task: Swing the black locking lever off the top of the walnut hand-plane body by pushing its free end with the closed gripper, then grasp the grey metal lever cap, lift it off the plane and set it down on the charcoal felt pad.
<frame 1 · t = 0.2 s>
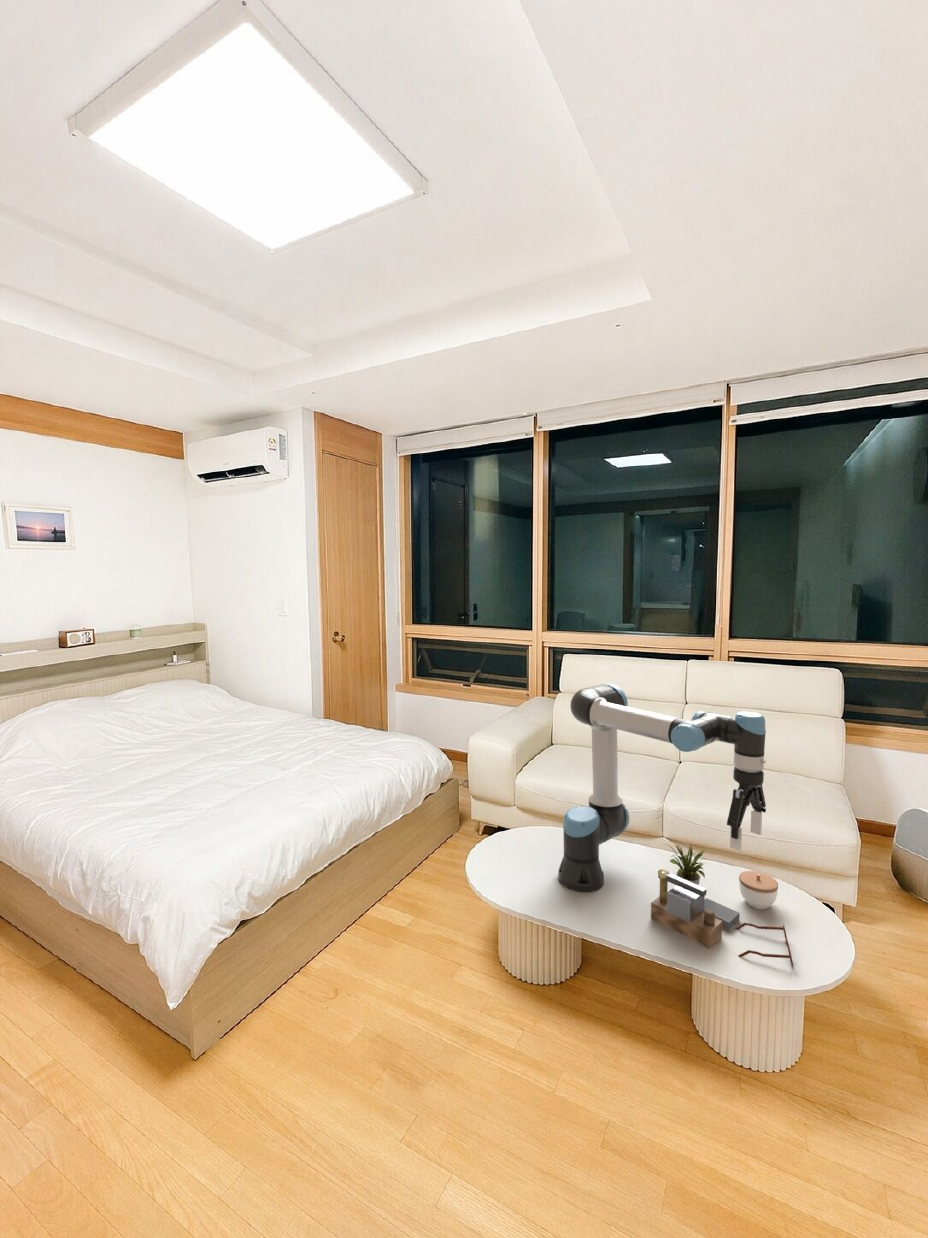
hand: (746, 840, 157), 27 cm above the table, fingers open, 13 cm apart
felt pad: (717, 918, 165), on the table
plane body: (685, 928, 161), on the table
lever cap: (685, 911, 161), point 5 cm above the table, touching plane body
lever: (681, 882, 161), point 13 cm above the table, hinge at 0.0°
glasses: (762, 949, 152), on the table
lidded jar: (757, 904, 172), on the table
house plant: (683, 894, 178), on the table
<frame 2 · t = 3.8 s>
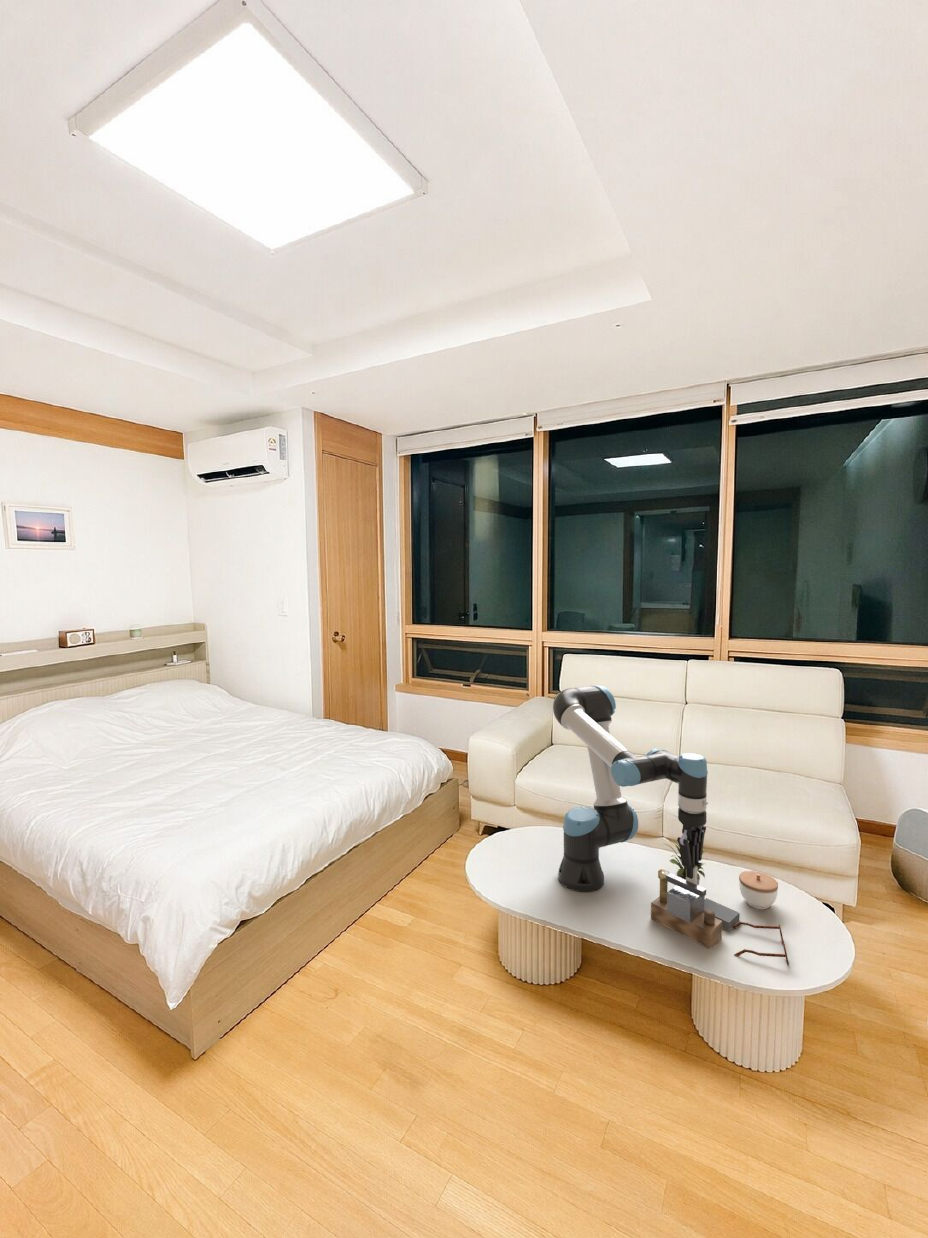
hand: (691, 886, 160), 12 cm above the table, fingers closed
lever: (680, 882, 161), point 13 cm above the table, hinge at -0.9°, touching gripper
glasses: (758, 948, 153), on the table
everything else where it was.
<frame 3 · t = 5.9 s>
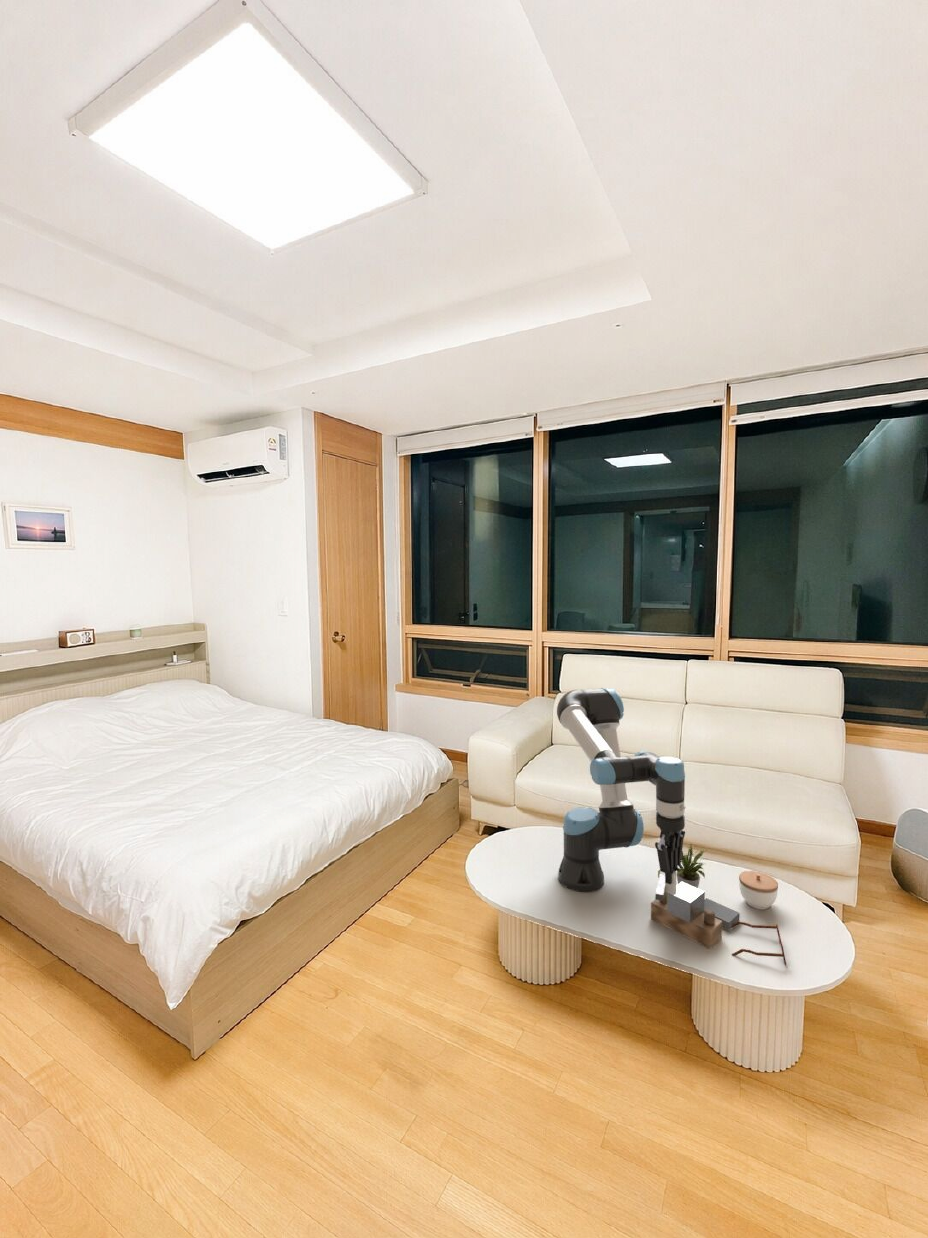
hand: (670, 892, 158), 12 cm above the table, fingers closed
lever: (661, 884, 160), point 13 cm above the table, hinge at -65.9°, touching gripper
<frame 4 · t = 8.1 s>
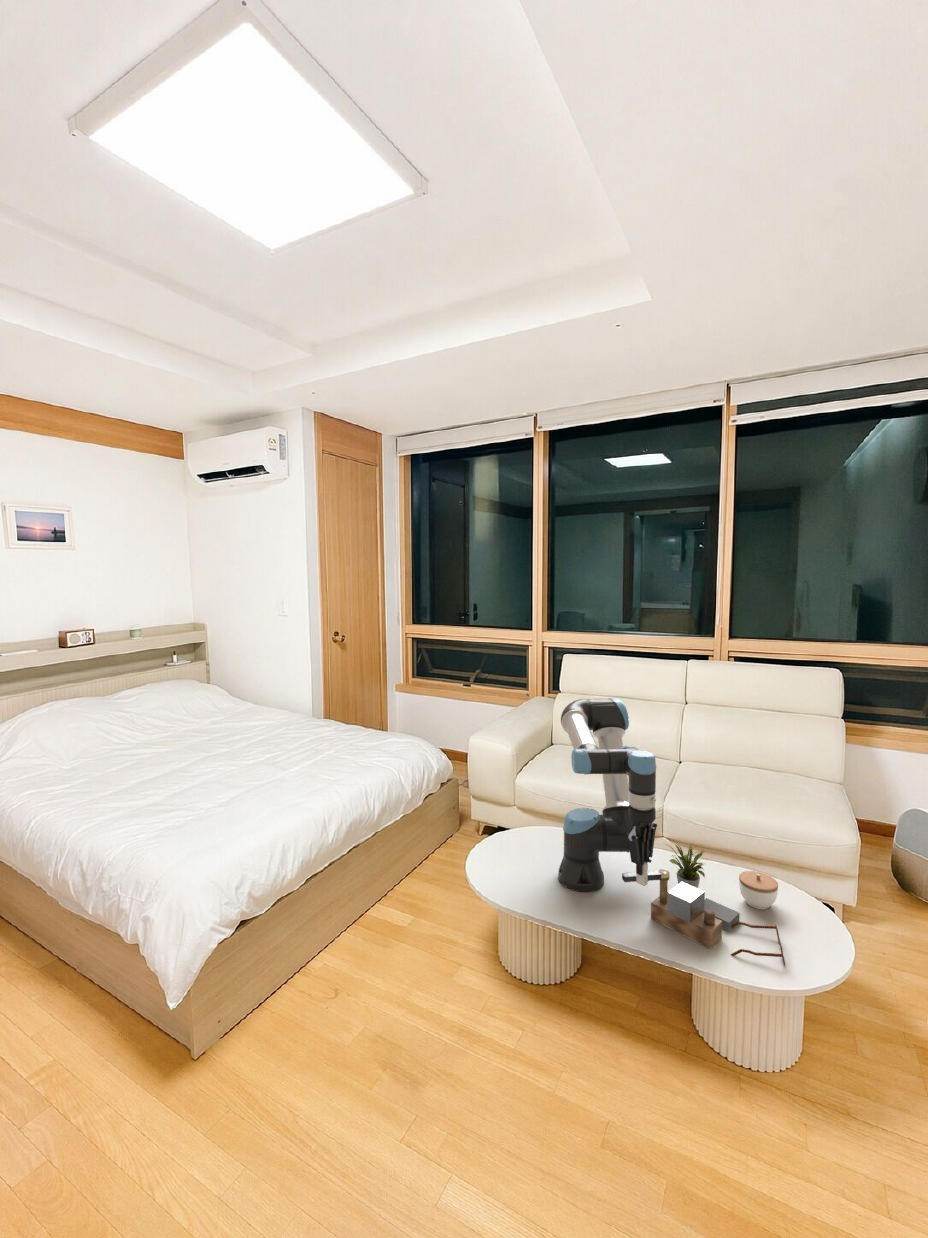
hand: (641, 883, 162), 13 cm above the table, fingers closed
lever: (646, 876, 165), point 13 cm above the table, hinge at -124.9°, touching gripper
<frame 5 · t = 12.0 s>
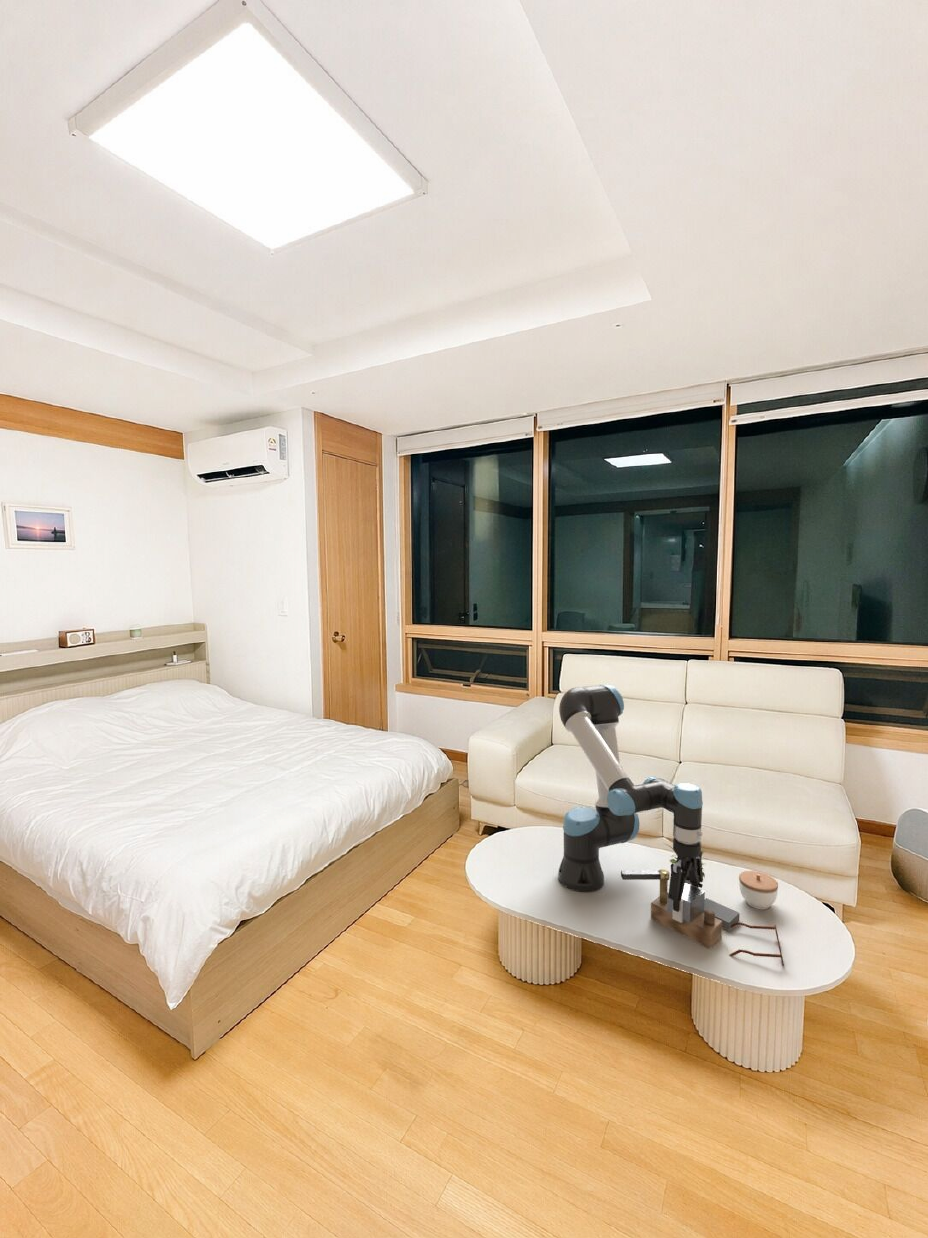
hand: (685, 913, 161), 4 cm above the table, fingers closed on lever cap, 8 cm apart
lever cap: (685, 911, 161), point 5 cm above the table, touching gripper, plane body
lever: (645, 875, 165), point 13 cm above the table, hinge at -131.5°
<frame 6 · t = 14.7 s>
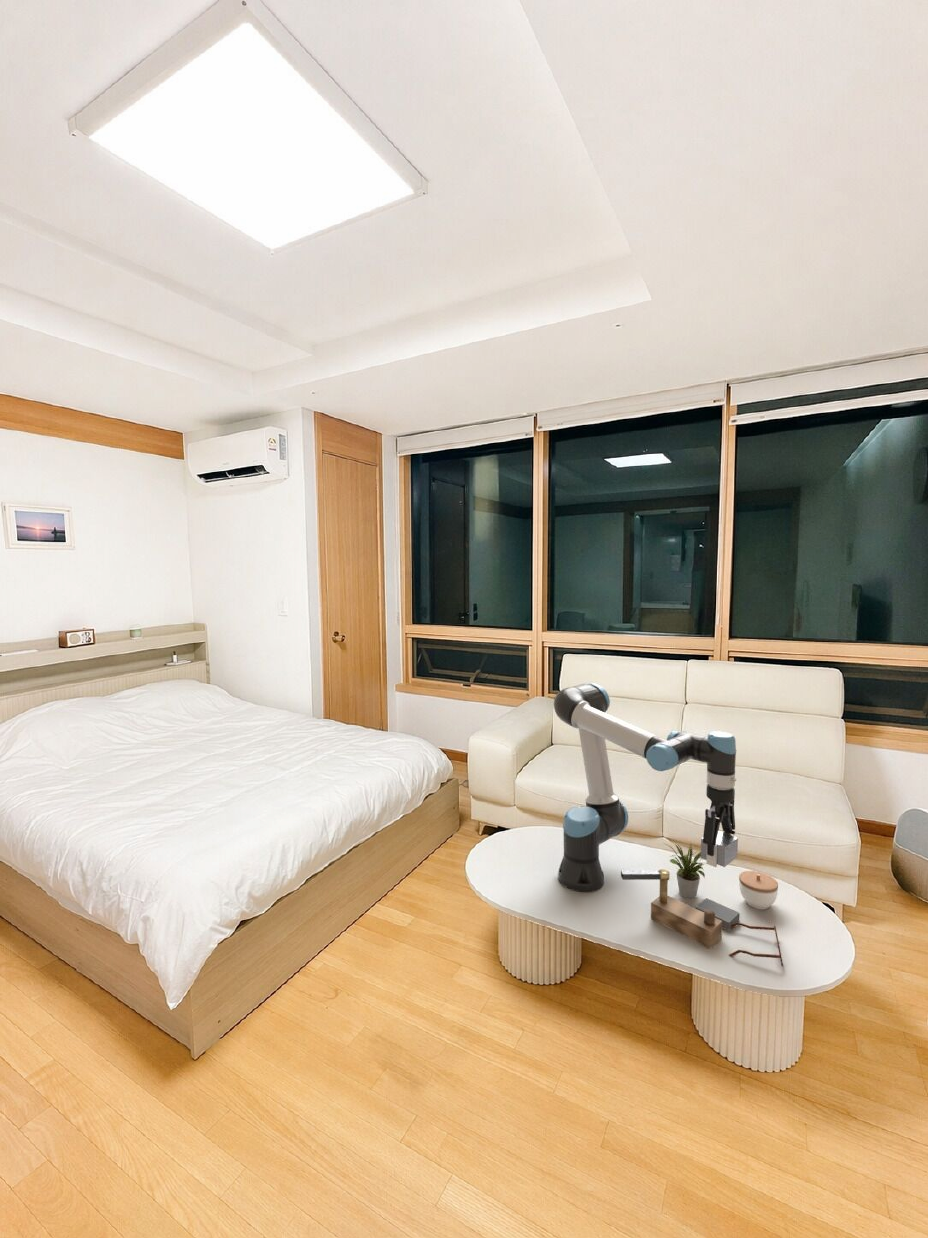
hand: (718, 859, 164), 18 cm above the table, fingers closed on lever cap, 8 cm apart
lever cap: (719, 857, 164), point 19 cm above the table, touching gripper
when the fingers open (4 cm above the table, at t = 17.5 s): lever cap drops 2 cm, resting on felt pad.
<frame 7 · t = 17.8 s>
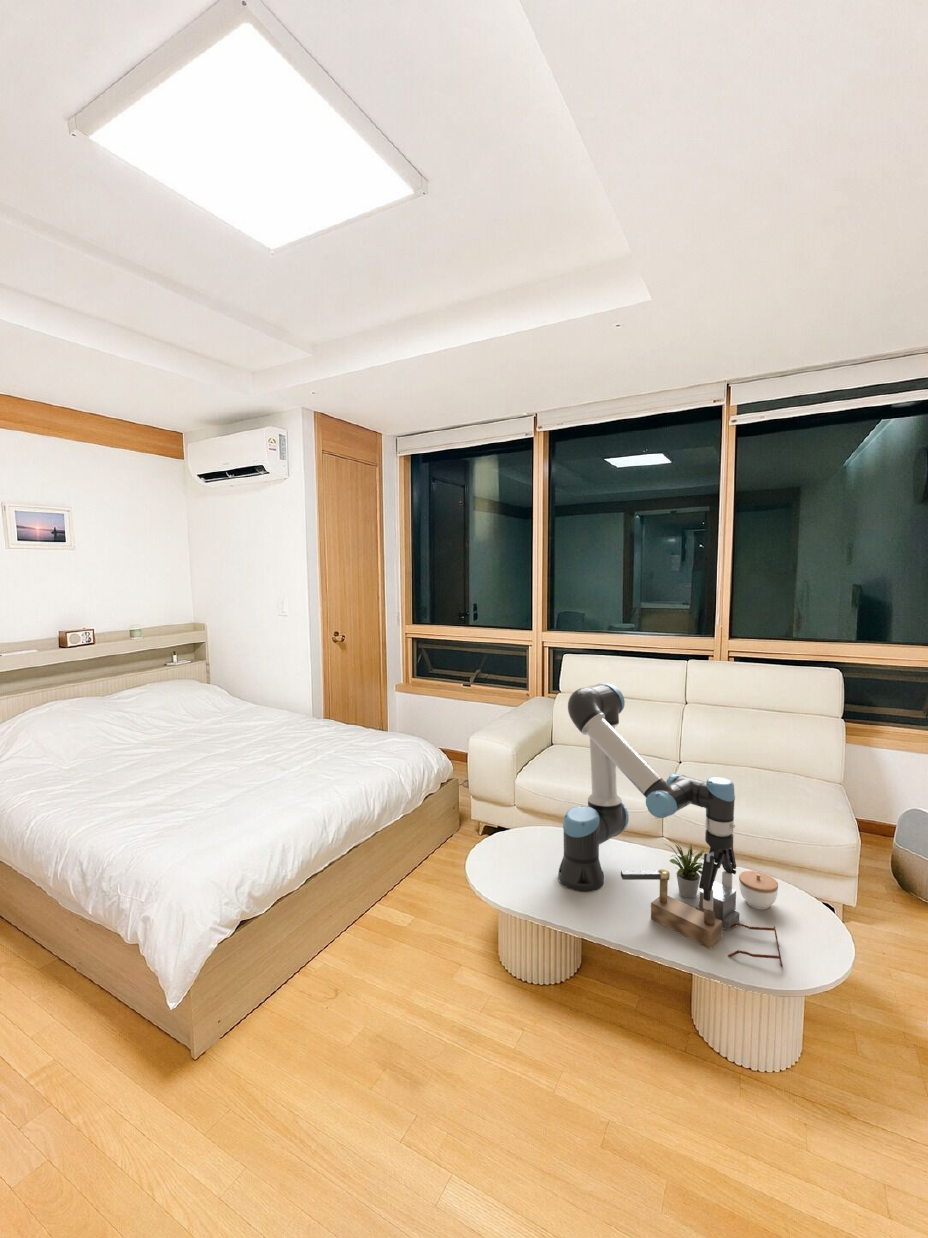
hand: (717, 901, 165), 5 cm above the table, fingers open, 11 cm apart
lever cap: (717, 910, 165), point 2 cm above the table, touching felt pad
glasses: (753, 950, 152), on the table, touching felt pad
everything else where it was.
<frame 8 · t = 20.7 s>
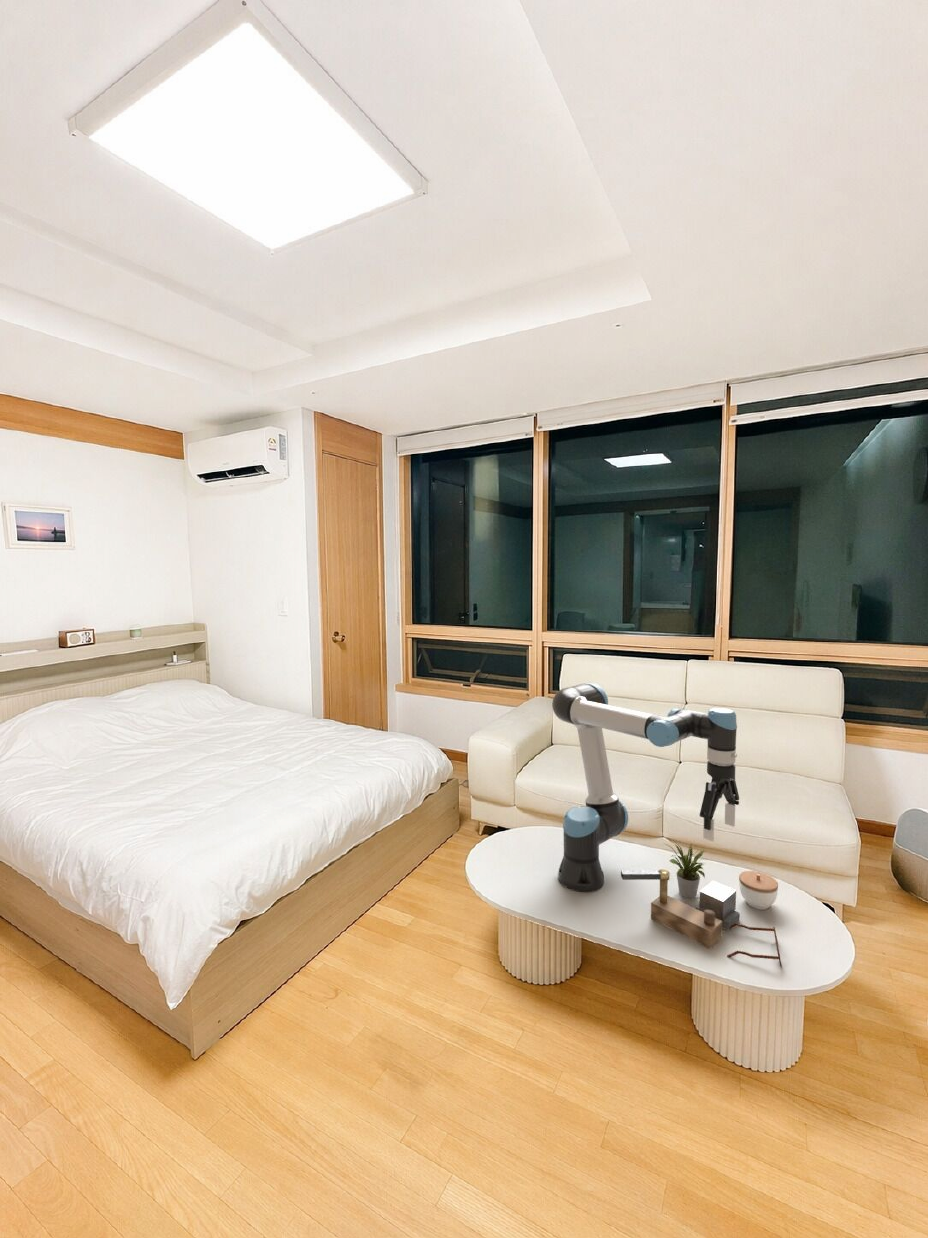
hand: (719, 832, 163), 27 cm above the table, fingers open, 13 cm apart
glasses: (752, 950, 152), on the table
everything else where it was.
at the end: lever at -132° (first picture: +0°); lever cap inside the target area on the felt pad (0.0 cm from its centre), point 2.5 cm above the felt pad's base; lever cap tilted 0° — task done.
